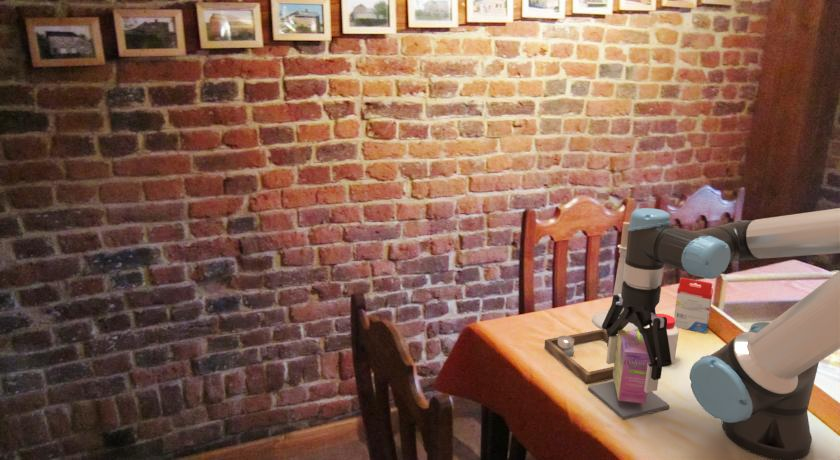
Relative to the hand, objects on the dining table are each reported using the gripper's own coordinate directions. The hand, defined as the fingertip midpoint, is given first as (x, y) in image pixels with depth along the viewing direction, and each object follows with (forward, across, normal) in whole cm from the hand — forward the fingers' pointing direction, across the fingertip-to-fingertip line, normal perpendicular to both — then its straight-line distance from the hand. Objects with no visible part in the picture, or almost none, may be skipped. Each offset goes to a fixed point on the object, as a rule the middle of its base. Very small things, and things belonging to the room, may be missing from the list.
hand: (630, 376), depth 125 cm
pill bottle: (+6, +12, -19) cm, 23 cm away
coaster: (+6, 0, 0) cm, 6 cm away
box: (+4, 0, 0) cm, 4 cm away
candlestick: (+6, +32, -22) cm, 39 cm away
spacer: (+6, +22, +2) cm, 23 cm away
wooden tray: (+6, +17, -4) cm, 18 cm away
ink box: (+6, +23, -40) cm, 47 cm away
